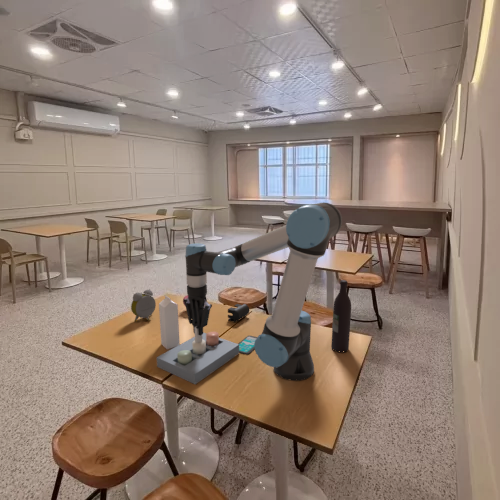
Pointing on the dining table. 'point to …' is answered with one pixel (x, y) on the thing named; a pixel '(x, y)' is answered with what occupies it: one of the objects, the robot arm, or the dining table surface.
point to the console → (198, 359)
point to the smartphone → (247, 345)
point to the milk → (169, 323)
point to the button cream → (199, 347)
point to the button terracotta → (212, 338)
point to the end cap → (238, 312)
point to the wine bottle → (341, 319)
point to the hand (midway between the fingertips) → (198, 341)
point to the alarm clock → (143, 304)
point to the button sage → (184, 357)
